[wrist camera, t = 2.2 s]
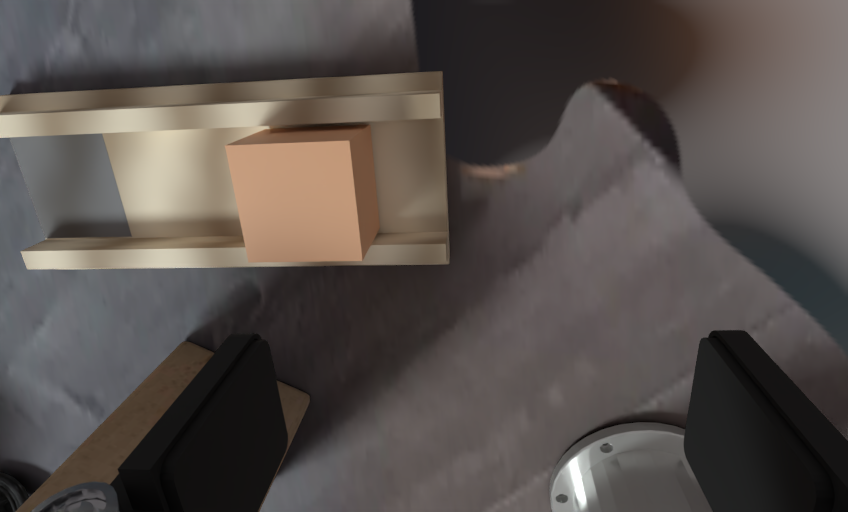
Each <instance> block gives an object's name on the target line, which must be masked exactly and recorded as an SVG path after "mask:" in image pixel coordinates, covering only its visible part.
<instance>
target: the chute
mask: <svg viewBox="0 0 848 512" xmlns="http://www.w3.org/2000/svg"><path fill="white" fill-rule="evenodd" d="M443 97H444V96H443V72H442V71H434V72H415V73H397V74H379V75H360V76H342V77H324V78H305V79H287V80H269V81H250V82H232V83H214V84H195V85H177V86H159V87H140V88H122V89H104V90H85V91H67V92H49V93H30V94H12V95H1V96H0V138H7V137H9V139H10V141H11V144H12V147H13V150H14V153H15V155H16V158H17V161H18V164H19V167H20V169H21V172H22V175H23V178H24V181H25V183H26V186H27V189H28V192H29V194H30V197H31V200H32V203H33V206H34V208H35V211H36V214H37V217H38V220H39V222H40V225H41V228H42V231H43V234H44V236H45V239H46V240H44V241H42V242H40V243H38V244H36V245H33V246H31V247H29V248H27V249H25V250H22V251H21V254H22V256H23V259H24V262H25V264H26V267H27V269H129V268H206V267H282V266H359V265H436V264H449V261H450V248H449V222H448V197H447V172H446V147H445V121H444V98H443ZM347 125H370V127H371V138H372V148H373V159H374V170H375V181H376V191H377V202H378V213H379V223H380V229H379V231H378V232H377V234H376V236H375V238H374V240H373V242H372V244H371V246H370V248H369V250H368V251H367V253H366V255H365V257H364V259H363V261H321V262H249V263H248V258H247V253H246V248H245V243H244V238H243V233H242V228H241V223H240V218H239V213H238V208H237V203H236V198H235V193H234V188H233V183H232V178H231V173H230V169H229V164H228V159H227V154H226V149H225V145H228V144H230V143H232V142H235V141H237V140H240V139H242V138H245V137H247V136H250V135H252V134H254V133H257V132H259V131H262V130H264V129H278V128H301V127H324V126H347Z"/></svg>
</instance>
